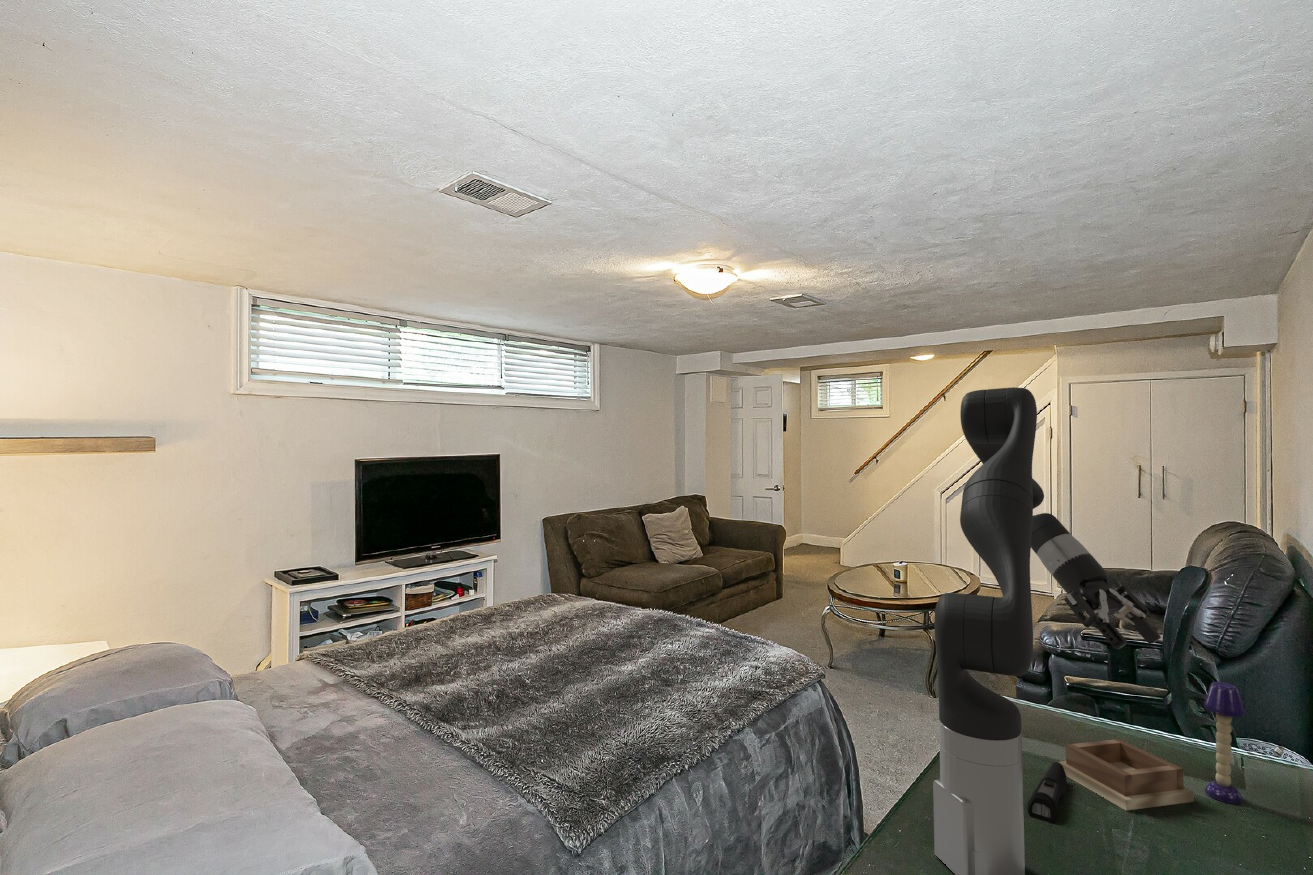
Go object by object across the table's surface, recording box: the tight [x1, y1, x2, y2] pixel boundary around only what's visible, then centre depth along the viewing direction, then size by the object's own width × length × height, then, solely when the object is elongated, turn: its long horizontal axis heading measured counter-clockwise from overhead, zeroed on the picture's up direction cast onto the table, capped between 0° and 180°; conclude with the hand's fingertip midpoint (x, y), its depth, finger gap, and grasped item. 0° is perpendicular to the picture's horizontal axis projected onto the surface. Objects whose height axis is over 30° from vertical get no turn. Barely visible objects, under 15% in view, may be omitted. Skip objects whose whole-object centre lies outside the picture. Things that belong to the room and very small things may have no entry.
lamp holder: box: [1058, 738, 1195, 811], centre depth 99 cm, size 12×12×4 cm
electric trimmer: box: [1026, 761, 1067, 824], centre depth 96 cm, size 4×16×3 cm, turn 140°
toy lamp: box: [1203, 681, 1246, 804], centre depth 96 cm, size 5×5×17 cm
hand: (1139, 643), depth 107 cm, fingers open, 8 cm apart
